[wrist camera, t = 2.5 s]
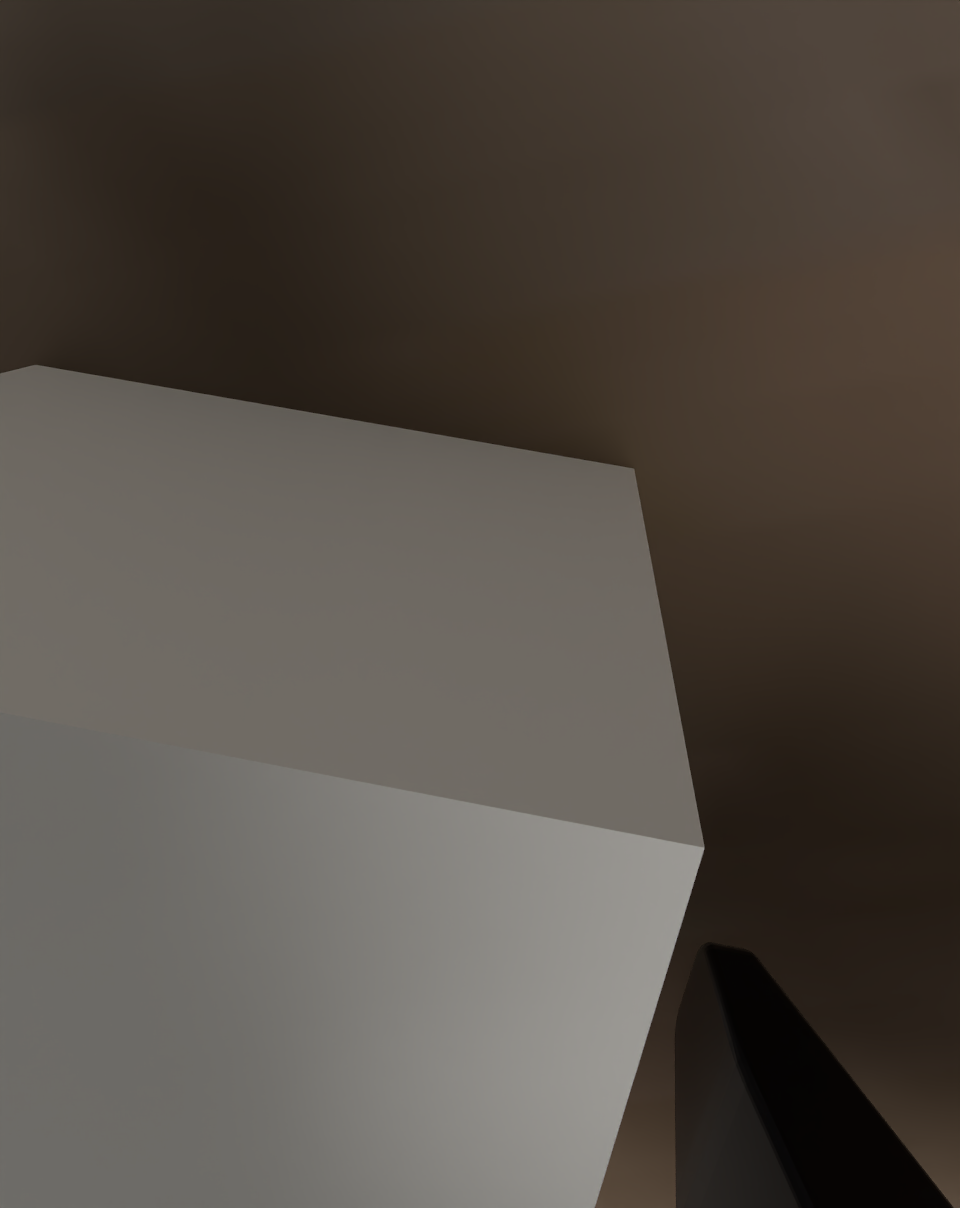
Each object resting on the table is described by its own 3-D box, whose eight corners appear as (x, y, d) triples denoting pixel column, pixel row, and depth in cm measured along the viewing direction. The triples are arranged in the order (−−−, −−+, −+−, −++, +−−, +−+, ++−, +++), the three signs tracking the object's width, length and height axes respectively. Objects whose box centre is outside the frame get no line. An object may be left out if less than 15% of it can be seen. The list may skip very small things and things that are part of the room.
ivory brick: (632, 464, 7) (702, 848, 3) (486, 1128, 11) (407, 1823, 6) (45, 362, 8) (-777, 562, 3) (74, 1042, 11) (-310, 1646, 6)
